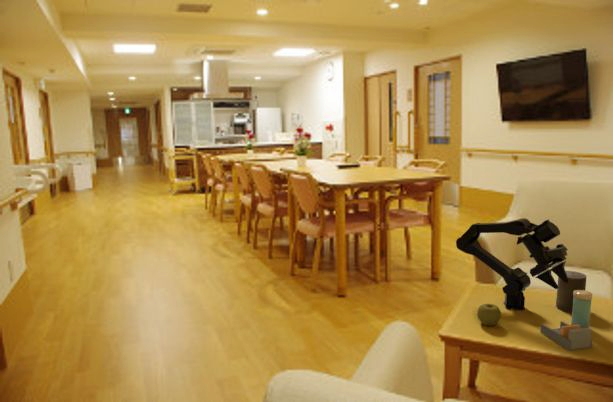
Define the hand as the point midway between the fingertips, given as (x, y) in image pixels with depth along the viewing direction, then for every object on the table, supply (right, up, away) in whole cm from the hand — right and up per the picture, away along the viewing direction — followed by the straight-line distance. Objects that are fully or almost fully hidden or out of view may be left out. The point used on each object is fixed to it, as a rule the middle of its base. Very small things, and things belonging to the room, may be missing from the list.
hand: (562, 285), depth 177 cm
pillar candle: (+10, -11, +13) cm, 20 cm away
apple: (-27, -14, +1) cm, 30 cm away
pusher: (-5, -16, -15) cm, 22 cm away
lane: (-6, -16, -13) cm, 21 cm away
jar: (+4, -14, -4) cm, 15 cm away
